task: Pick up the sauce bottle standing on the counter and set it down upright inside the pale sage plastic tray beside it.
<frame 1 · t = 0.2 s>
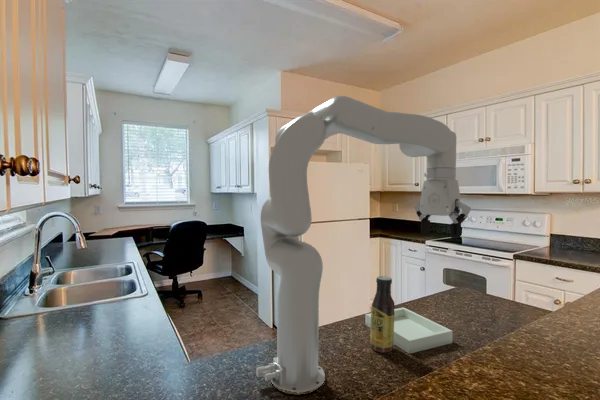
hand: (439, 235, 88), 31 cm above the countertop, tool pointing down, fingers open, 9 cm apart
tray: (406, 333, 95), on the countertop
sauce bottle: (382, 349, 86), on the countertop
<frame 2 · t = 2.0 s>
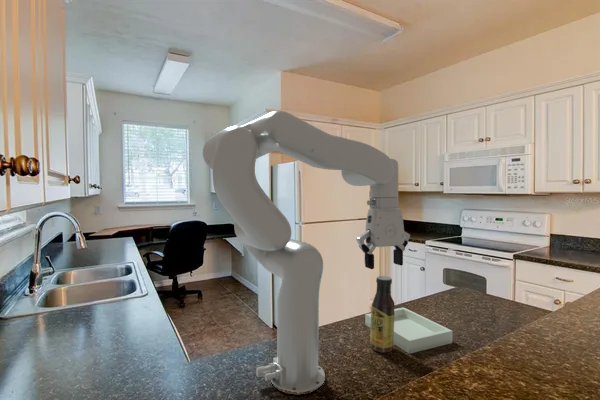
hand: (384, 266, 86), 23 cm above the countertop, tool pointing down, fingers open, 9 cm apart
nothing on the countertop moved.
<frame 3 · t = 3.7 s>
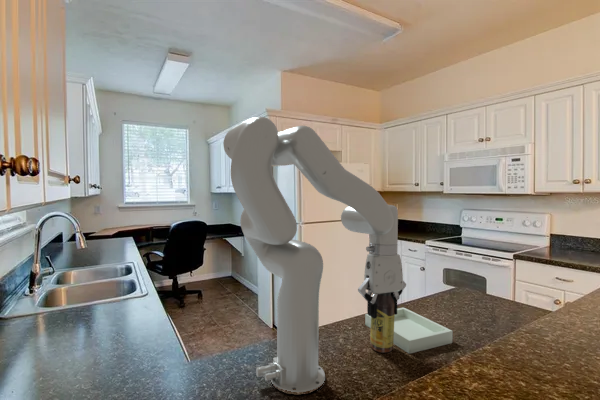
hand: (382, 314, 86), 10 cm above the countertop, tool pointing down, fingers closed on sauce bottle, 6 cm apart
sauce bottle: (382, 349, 86), on the countertop, touching gripper
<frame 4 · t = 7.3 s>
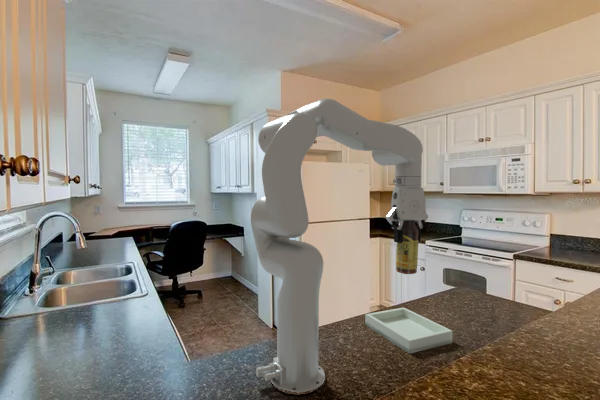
hand: (407, 241, 95), 28 cm above the countertop, tool pointing down, fingers closed on sauce bottle, 6 cm apart
sauce bottle: (406, 273, 95), point 19 cm above the countertop, touching gripper
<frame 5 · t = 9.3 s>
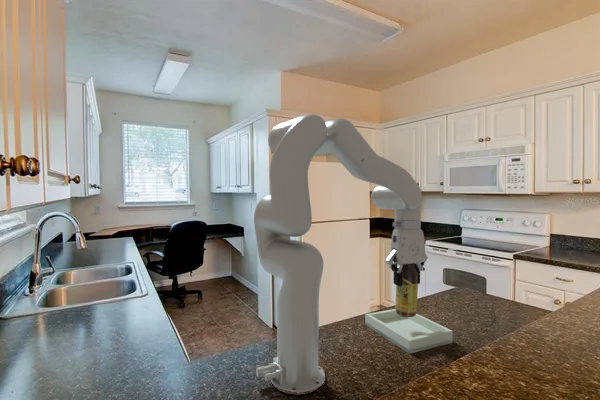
hand: (406, 283, 95), 15 cm above the countertop, tool pointing down, fingers closed on sauce bottle, 6 cm apart
sauce bottle: (406, 315, 95), point 6 cm above the countertop, touching gripper
when the fingers open (11 cm above the countertop, at t = 10.7 s): sauce bottle stays where it is, resting on tray.
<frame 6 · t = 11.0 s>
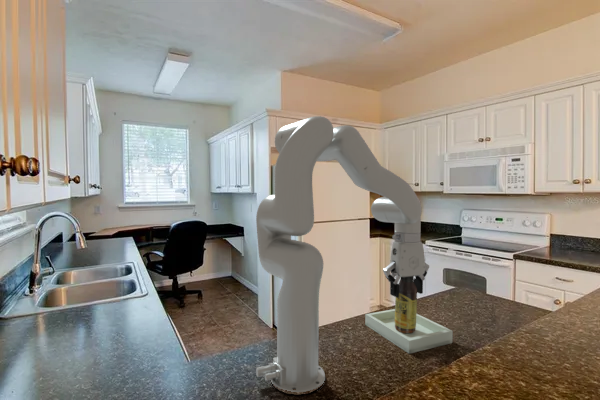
hand: (406, 294, 95), 12 cm above the countertop, tool pointing down, fingers open, 8 cm apart
sauce bottle: (405, 330, 95), point 1 cm above the countertop, touching tray
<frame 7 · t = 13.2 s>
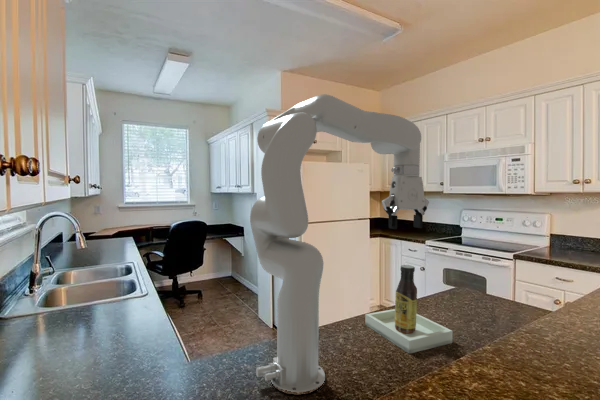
hand: (405, 228, 95), 32 cm above the countertop, tool pointing down, fingers open, 9 cm apart
nothing on the countertop moved.
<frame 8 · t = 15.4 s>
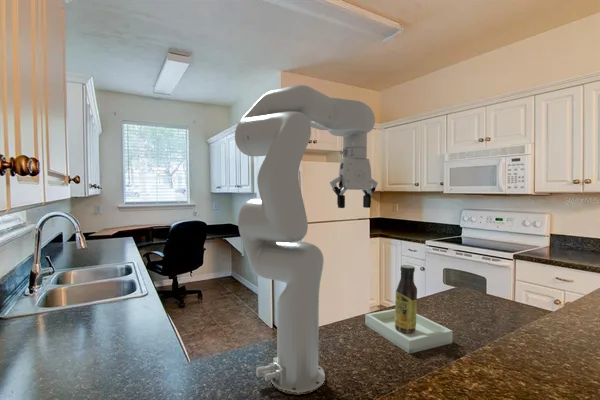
hand: (354, 207, 100), 38 cm above the countertop, tool pointing down, fingers open, 9 cm apart
nothing on the countertop moved.
at the end: sauce bottle inside the target area on the tray (0.3 cm from its centre), point 0.8 cm above the tray's base; sauce bottle tilted 0°; the gripper is holding nothing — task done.
